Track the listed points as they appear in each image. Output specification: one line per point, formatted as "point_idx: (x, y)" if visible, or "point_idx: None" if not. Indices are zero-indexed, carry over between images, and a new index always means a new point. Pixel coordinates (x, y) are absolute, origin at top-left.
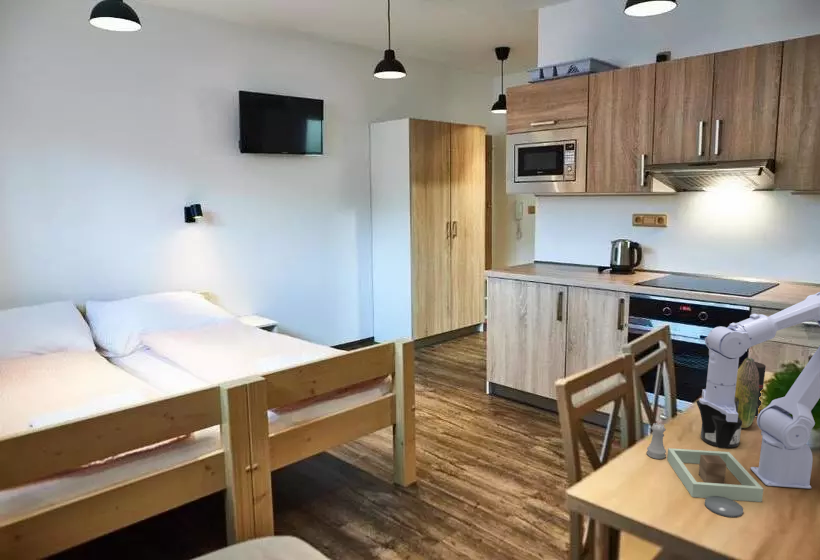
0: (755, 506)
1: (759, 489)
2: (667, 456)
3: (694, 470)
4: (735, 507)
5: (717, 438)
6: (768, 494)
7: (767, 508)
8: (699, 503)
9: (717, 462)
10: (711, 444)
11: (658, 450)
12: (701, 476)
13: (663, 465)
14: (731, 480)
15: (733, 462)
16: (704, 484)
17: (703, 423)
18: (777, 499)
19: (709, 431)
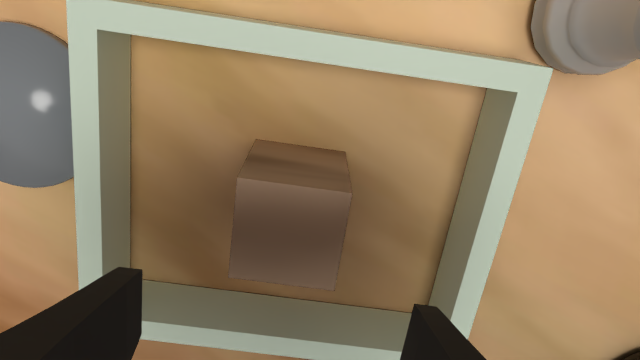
0: (69, 251)
1: None
2: (527, 62)
3: (389, 153)
4: (7, 154)
5: (56, 304)
6: (178, 347)
7: (62, 287)
8: (45, 4)
9: (245, 239)
10: (626, 357)
11: (569, 8)
12: (307, 149)
13: (457, 4)
14: None
15: (354, 342)
16: (73, 63)
17: (444, 351)
18: (142, 357)
19: (409, 346)
